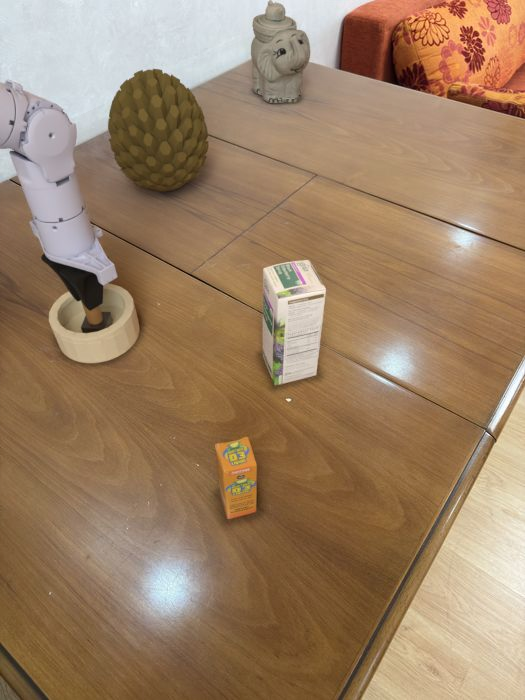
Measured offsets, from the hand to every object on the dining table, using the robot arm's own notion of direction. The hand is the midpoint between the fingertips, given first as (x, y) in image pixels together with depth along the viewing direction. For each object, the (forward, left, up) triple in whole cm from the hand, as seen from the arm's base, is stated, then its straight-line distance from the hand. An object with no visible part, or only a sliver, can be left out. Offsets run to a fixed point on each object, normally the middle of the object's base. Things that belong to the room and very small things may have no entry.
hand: (89, 301), depth 69 cm
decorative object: (-11, +37, -6) cm, 40 cm away
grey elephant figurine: (-6, +82, -6) cm, 83 cm away
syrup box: (+26, +4, -6) cm, 27 cm away
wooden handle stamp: (0, 0, -5) cm, 5 cm away
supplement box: (+28, -16, -6) cm, 33 cm away
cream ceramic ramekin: (0, 0, -6) cm, 6 cm away
